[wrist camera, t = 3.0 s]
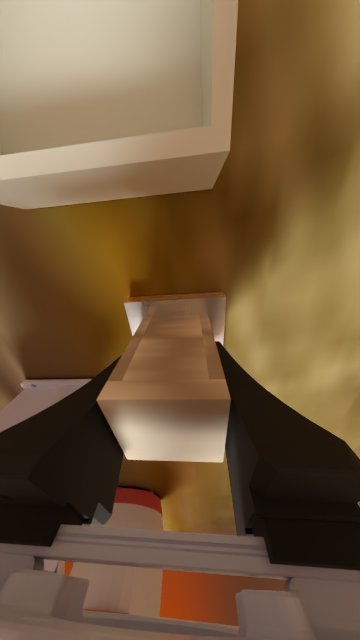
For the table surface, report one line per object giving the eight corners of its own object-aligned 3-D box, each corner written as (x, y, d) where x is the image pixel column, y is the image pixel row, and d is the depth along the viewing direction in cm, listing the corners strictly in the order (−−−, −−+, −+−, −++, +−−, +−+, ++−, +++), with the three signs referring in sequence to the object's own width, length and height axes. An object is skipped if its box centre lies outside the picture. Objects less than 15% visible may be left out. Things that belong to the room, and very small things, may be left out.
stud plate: (146, 365, 15) (121, 438, 9) (129, 297, 12) (76, 348, 6) (218, 363, 14) (237, 440, 9) (222, 291, 11) (257, 342, 5)
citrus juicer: (174, 483, 29) (154, 864, 11) (166, 509, 37) (146, 753, 19) (93, 473, 29) (-60, 851, 11) (102, 501, 37) (23, 744, 19)
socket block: (153, 364, 13) (127, 459, 7) (143, 317, 11) (96, 399, 5) (207, 363, 13) (222, 462, 7) (207, 314, 11) (230, 399, 5)
